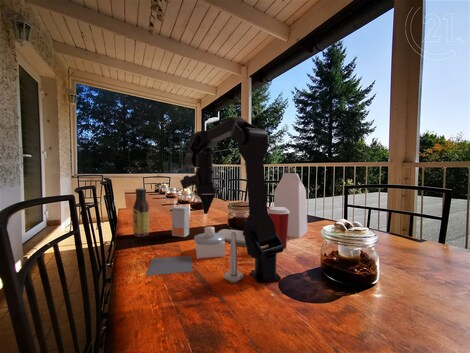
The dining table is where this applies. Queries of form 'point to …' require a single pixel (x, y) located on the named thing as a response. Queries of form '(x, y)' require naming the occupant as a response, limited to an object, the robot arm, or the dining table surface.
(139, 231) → the sauce bottle
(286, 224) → the paper cup
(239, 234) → the washcloth
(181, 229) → the skincare box
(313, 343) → the dining table surface
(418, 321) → the dining table surface
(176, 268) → the mat
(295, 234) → the milk
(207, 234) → the lid
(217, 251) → the dish
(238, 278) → the screw
